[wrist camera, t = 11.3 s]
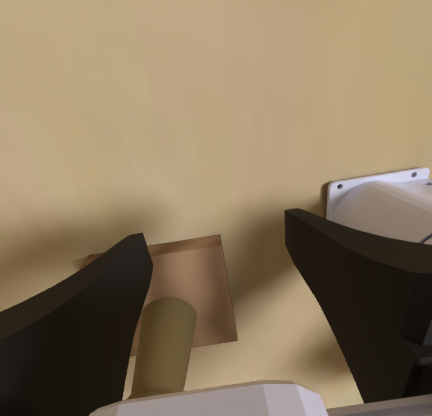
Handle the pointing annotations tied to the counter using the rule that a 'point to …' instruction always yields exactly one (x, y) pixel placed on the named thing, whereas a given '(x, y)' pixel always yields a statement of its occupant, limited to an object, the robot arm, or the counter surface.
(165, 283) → the walnut stand
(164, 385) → the olive bottle
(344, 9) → the counter surface
